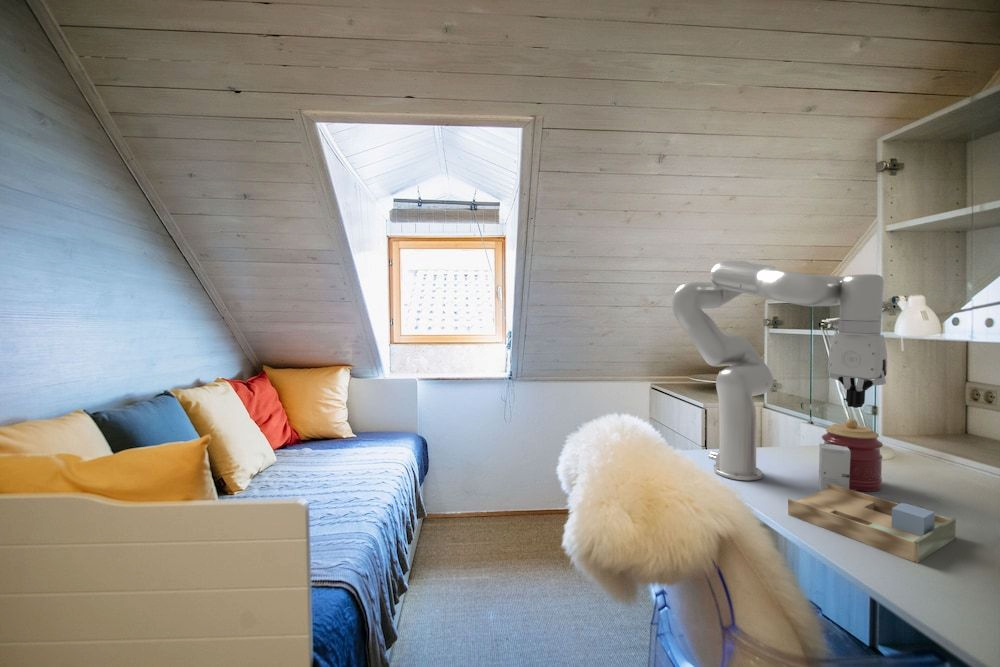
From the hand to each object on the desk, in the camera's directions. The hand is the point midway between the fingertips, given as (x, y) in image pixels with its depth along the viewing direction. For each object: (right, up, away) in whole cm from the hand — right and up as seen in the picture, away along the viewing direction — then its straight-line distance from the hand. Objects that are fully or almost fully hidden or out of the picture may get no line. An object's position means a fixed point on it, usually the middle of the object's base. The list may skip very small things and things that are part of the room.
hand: (854, 406), depth 102 cm
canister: (+13, -24, +17) cm, 32 cm away
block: (+1, -23, -13) cm, 26 cm away
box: (-3, -25, -6) cm, 26 cm away
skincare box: (+3, -24, +11) cm, 27 cm away
